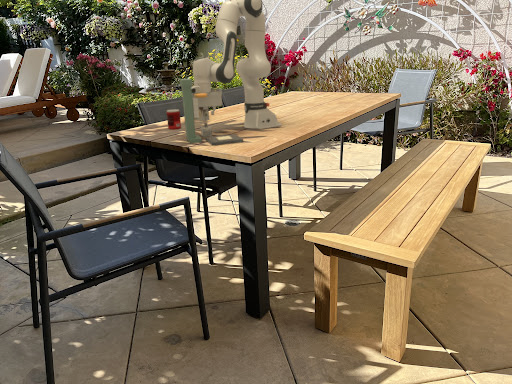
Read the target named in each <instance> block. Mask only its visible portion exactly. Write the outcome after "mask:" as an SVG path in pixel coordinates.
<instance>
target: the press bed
mask: <svg viewBox="0 0 512 384" xmlns="http://www.w3.org/2000/svg"><path fill="white" fill-rule="evenodd" d="M205 141H206V142H207V143H208V144H210V146H220V145H229V144H231V145H232V144H238V143H244V138H242V137H241V136H239V135H238V134H235V133H234V134H226V135H216V136H215V135H214V136H207V137H205Z"/></svg>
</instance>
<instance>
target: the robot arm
mask: <svg viewBox="0 0 512 384" xmlns="http://www.w3.org/2000/svg"><path fill="white" fill-rule="evenodd" d="M241 17H243V18H245V31H244V32H245V33H244V47H245V48H246V49H247V53H248V57H244V58H242V59H240V60H238V61H237V62H236V65H235V61H236V52H237V45H238V44H237V43H238V37H237V30H238V25H239V20H240V18H241ZM215 34H216V36H217V38H218V39H219V40H221V41H222V42H223V44H224V46H223V47H224V48H223V55H222V61H221V62H216V61H213V60H212V59H210V58H209V56H206V55H205V56H199V57H195V59H194V60H193V63H192V75H193V79H194V80H193V85H192V86H191V90H192V97H195V94H199V93H207V97H203V98H198V107H208V108H211V107H212V111H210V115H211V116H214V115H215V111H216V109H217V107H221V106H222V105H223V100H222V98H223V97H222V96H223V91H222V89H220V88H218V87H217V88H212V85H211V82H213V83H214V82H216V83H222V84H230V83H231V82H232V81H233V80H234V78H235V76H236V75H235V73H237V74H238V75H239V76H240V79H241V82H242V86H243V91H244V105H243V106H244V109H243V110H244V123H243V128H245V129H253V130H255V129H256V130H261V129H263V130H264V129H268V128H269V129H270V128H276V127H281V126H282V123H281V122H280V121H278V117H277V115H276V114H275V113H274V112H273V111H272V110H270V109H269V108H268V107H270V106H271V105H270V104H271V103H270V102H265V99H264V96H265V95H264V93H265V90H264V87H263V86H262V85H261V82H260V79H262V78H265V77H267V76H269V75H270V73H271V69H272V65H271V62H270V61H269V60H268V58H267V54H266V48H265V42H266V17H265V14H264V12H263V1H262V0H225V1H224V2H222V5H221V7H220V9H219V12H218V14H217V19H216V23H215ZM235 69H236V70H235Z"/></svg>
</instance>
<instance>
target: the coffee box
mask: <svg viewBox="0 0 512 384" xmlns="http://www.w3.org/2000/svg"><path fill="white" fill-rule="evenodd" d="M198 108H199V118H194V122H195V121H199V122H207V121H209V120H210V112H209V111H210V109H209V107H198Z"/></svg>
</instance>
